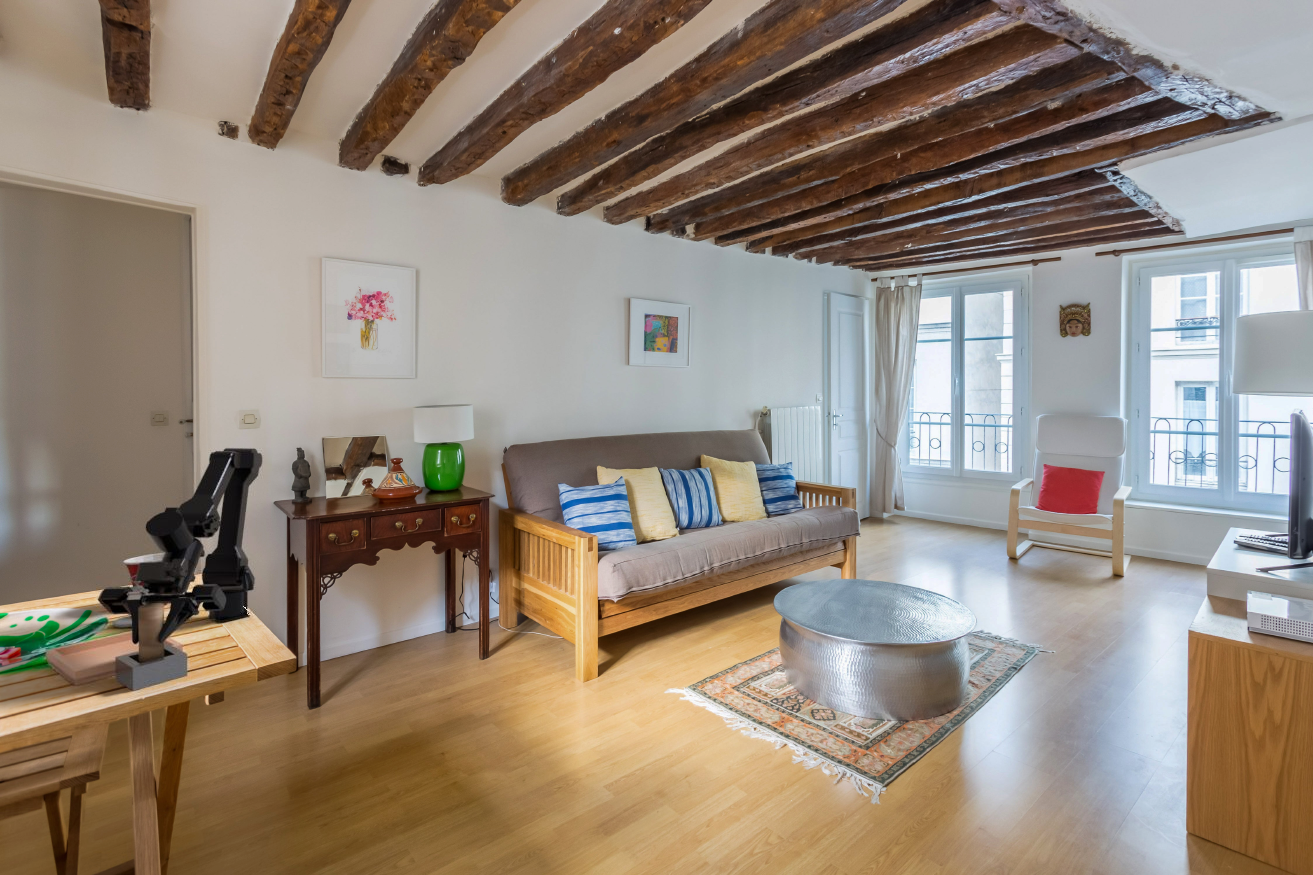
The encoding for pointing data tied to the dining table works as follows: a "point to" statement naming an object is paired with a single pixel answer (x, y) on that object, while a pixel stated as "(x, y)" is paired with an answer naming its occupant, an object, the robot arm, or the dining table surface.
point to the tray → (94, 657)
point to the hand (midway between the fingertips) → (147, 642)
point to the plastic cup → (134, 562)
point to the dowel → (150, 631)
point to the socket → (150, 668)
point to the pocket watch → (128, 620)
